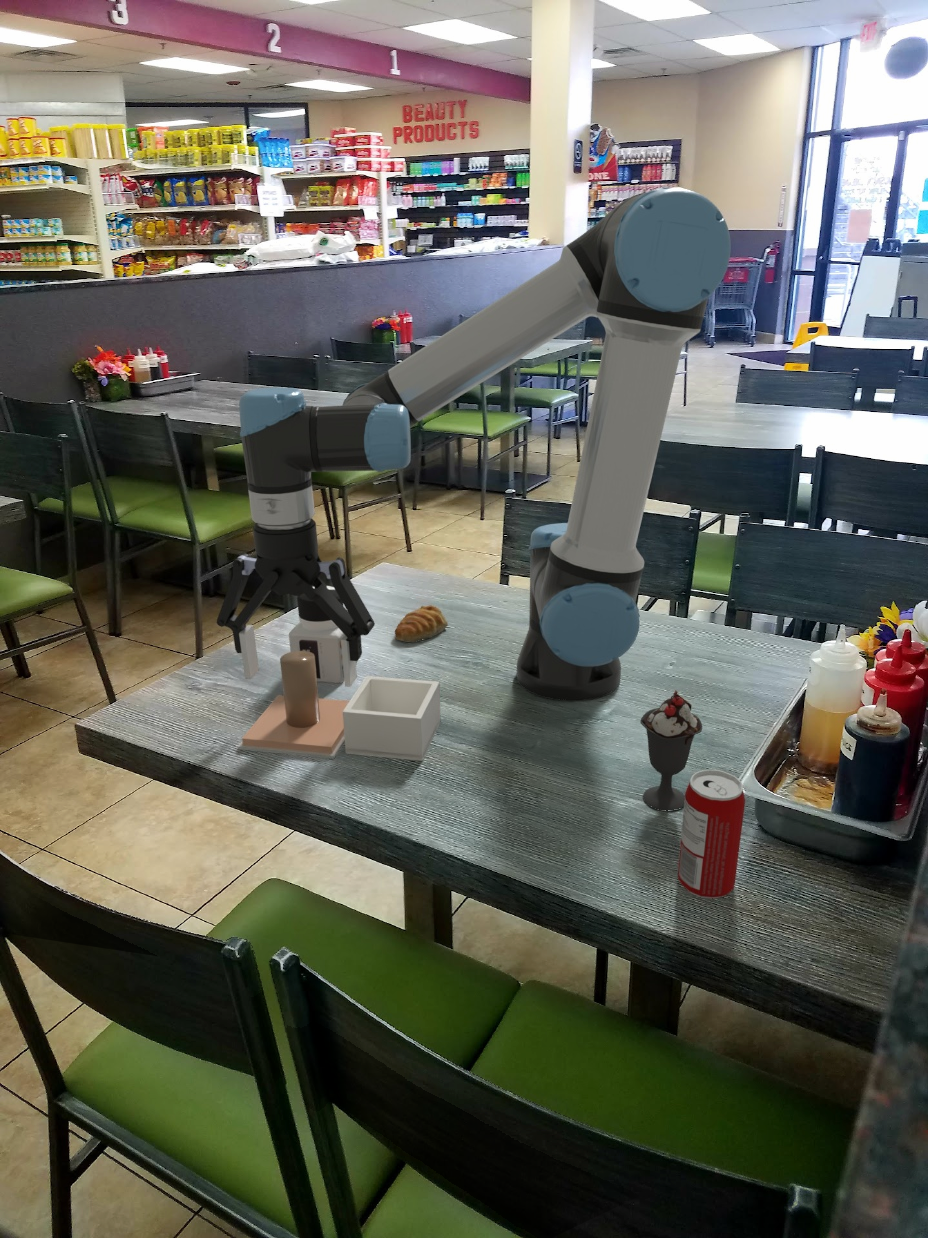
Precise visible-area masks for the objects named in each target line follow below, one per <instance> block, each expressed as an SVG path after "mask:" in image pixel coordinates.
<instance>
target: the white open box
mask: <svg viewBox="0 0 928 1238" xmlns="http://www.w3.org/2000/svg"><path fill="white" fill-rule="evenodd" d="M440 685H441V684H440V681H435V680H424V679H423V680H421V679H410V678H408V679H407V678H400V677H399V678H397V677H386V676H371V675H366V676H365V678H364V679H363V681H362V682H361V684H360V685H359V687H358V688H357V690H356V691H355V693H353V696H351V699H350V700H348V701H349V703H348V704H347V706H346V707H345V709H344V710H343V724H344V737H345V743H344V748H345V754H349V755H359V756H368V757H378V758H389V759H398V760H399V759H400V760H407V761H418V762H423V761H424V759H425V756H426V755H427V752H428V750H429V749H430V746H431V744H432V742H433V740H434V737H435V735H436V733H437V731H438V729H439V726H440V724H441V722H442V720H441V719H442V717H441V693H440V692H441V689H440V688H441V687H440Z"/></svg>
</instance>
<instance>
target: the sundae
mask: <svg viewBox="0 0 928 1238" xmlns="http://www.w3.org/2000/svg"><path fill="white" fill-rule="evenodd" d="M672 694H673V695H671V697H670V698H667V699H665V700H664V701H662V703H661V704H660V706H659V707H658V708H652V709H650V710H648V711H646V712H645V713H644V714H643V715H642V717H641V718H640V721H639V722H640V724H641V725H642V726H643V727H644V728H645V729H646V736H647V746H648V747H647V749H648V750H647V751H648V757H649V763H650V764H651V766H652V768H653V769H654V770H655V771H657V773H659V774H661V777H660V784H659V785H656V786H652V787H649V788H648V789H646V790H645V791H644V792H643V794H642V799H643V801H644V803H645V804H647V806H649V807H650V806H652V807H651V808H652V809H654V808H656V809H655V810H657V809H659V810H658V811H661V810H666V811H665V812H669V811H668V810H674V809H679V808H681V809H683V808H684V807H683V806H684V801H685V793H683V792H682V791H681V790H679V789H677V788H674V787H673V786H672V782H673V781H672V780H673V776H674V775H677V774H679V773H680V772H682V771H683V770H684V769H685V768H686V765H687V762H688V760H689V757H690V752H691V748H692V744H693V740H694V738H695V735H698V734H700V733H701V732H702V731H703V723H702V721H701V719H700V718H699V717H698V716H697V715H695V713H692V703H690V702H688V701H687V700H686V699H685V698H684V697H683V696H681V695H679V694H678V691H677V690H674V693H672ZM682 807H683V808H682ZM679 810H680V809H679Z"/></svg>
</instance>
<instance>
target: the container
mask: <svg viewBox="0 0 928 1238" xmlns="http://www.w3.org/2000/svg"><path fill="white" fill-rule="evenodd" d="M326 586H327V589H328V590H329V591H330V592H331V593H332V594H333V596H334V597H335V598H336V599H337V600H338V601H339V602H340V603H341V604H342V605H343V606H344V604H343V602H342V600H341V599H340V597H339V595H338V593H337V592H336V590H335V588H334V586H330V585H326ZM312 587H313V588H314V589H315V587H314V586H312ZM296 599H297V600H296V602H297V611H298V613H297V614H298V620H299V621H298V622H297V624H295V626H294V627H293V628H292V629H291V630H290V631H289V633H288V640H289V641H288V643H289V648H290V649H289V651H290V652H293V651H308V652H311V653H313V654H314V656H315V665H316V676H317V683H330V684H343V683H344V670H343V659H342V647H341V639H342V638H343V637H344V635H345V634H344V633H343V632H342V631H341V630H340V629H339V628H338V627H337V626H336V625H335V623H334V622H333V621H332V620H331V619H330V618H329V617H328V616H327V615H326V614H325V613H324V612H323V610H322V609H321V608H320V607H319V606H318V605H317V604H316V603H315V602H314V601H311V600H310V599H309V598H308V597H307V596H306V595H305V594H302V595H301V596H296ZM357 663H358V661H356V664H357Z"/></svg>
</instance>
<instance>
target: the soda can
mask: <svg viewBox="0 0 928 1238" xmlns="http://www.w3.org/2000/svg"><path fill="white" fill-rule="evenodd" d="M684 795H685V801H684V807H683V812H682V813H683V814H682V823H681V833H680V843H679V854H678V855H679V856H678V866H677V880H678V881H679V883H680V885H682V887H684V889H686V891H688V893H689V894H691V895H694V896H695V895H696V897H698V898H700V897H701V898H702V899H710V900H712V898H713V899H718V898H722V896H723V897H725V896H727V895H728V894H730V893H731V892H732V891H733V890H734V889H735V886H736V885H735V884H736V878H737V869H738V861H739V855H740V854H739V853H740V848H741V847H740V846H741V840H742V839H741V836H742V832H743V831H742V829H743V824H744V823H743V821H744V814H745V807H746V806H745V804H746V798H745V794H744V785H743V782H742V781H741V780H740V779H739V777H737V776H736V775H733V774H731V773H729V772H726V771H724V770H719V769H703V770H699V771H697V772H694V774H692V775H691V777H690V780H689V783H688V785H687V787H686V789H685V793H684Z"/></svg>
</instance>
